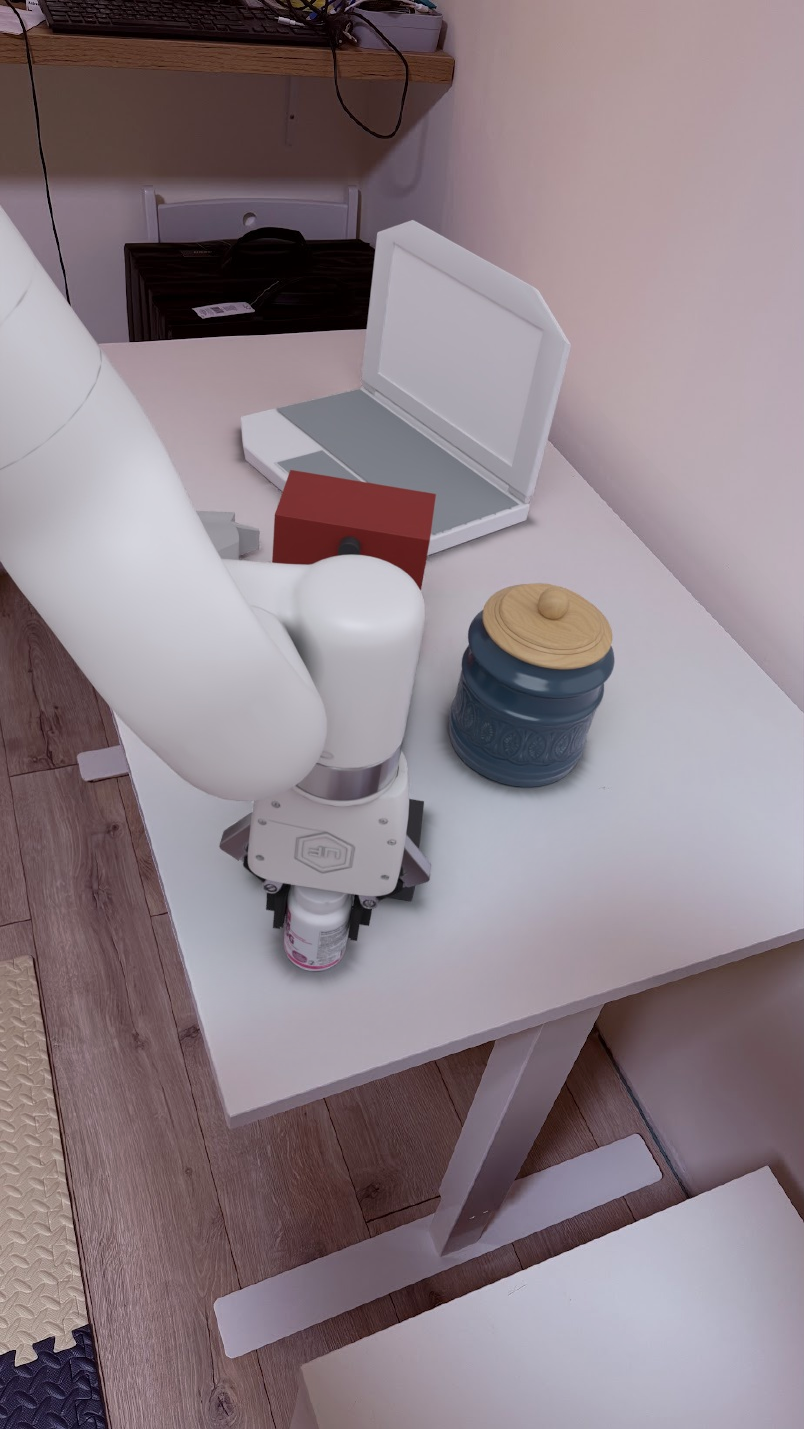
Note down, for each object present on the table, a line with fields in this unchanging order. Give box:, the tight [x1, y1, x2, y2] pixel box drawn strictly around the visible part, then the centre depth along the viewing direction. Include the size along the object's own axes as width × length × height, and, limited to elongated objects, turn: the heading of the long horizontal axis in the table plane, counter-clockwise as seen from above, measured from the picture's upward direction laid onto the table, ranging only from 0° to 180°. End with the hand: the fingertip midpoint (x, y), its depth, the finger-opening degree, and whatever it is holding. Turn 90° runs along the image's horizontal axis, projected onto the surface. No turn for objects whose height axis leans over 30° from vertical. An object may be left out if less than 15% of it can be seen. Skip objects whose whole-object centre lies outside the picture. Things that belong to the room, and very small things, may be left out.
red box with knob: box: [271, 470, 436, 591], centre depth 98 cm, size 14×9×16 cm, turn 84°
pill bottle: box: [283, 885, 354, 972], centre depth 74 cm, size 5×5×8 cm
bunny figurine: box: [196, 510, 261, 560], centre depth 108 cm, size 10×5×15 cm
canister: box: [448, 582, 615, 788], centre depth 90 cm, size 13×13×18 cm
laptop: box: [239, 219, 572, 557], centre depth 118 cm, size 33×24×26 cm
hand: (318, 916), depth 74 cm, fingers closed on pill bottle, 4 cm apart
